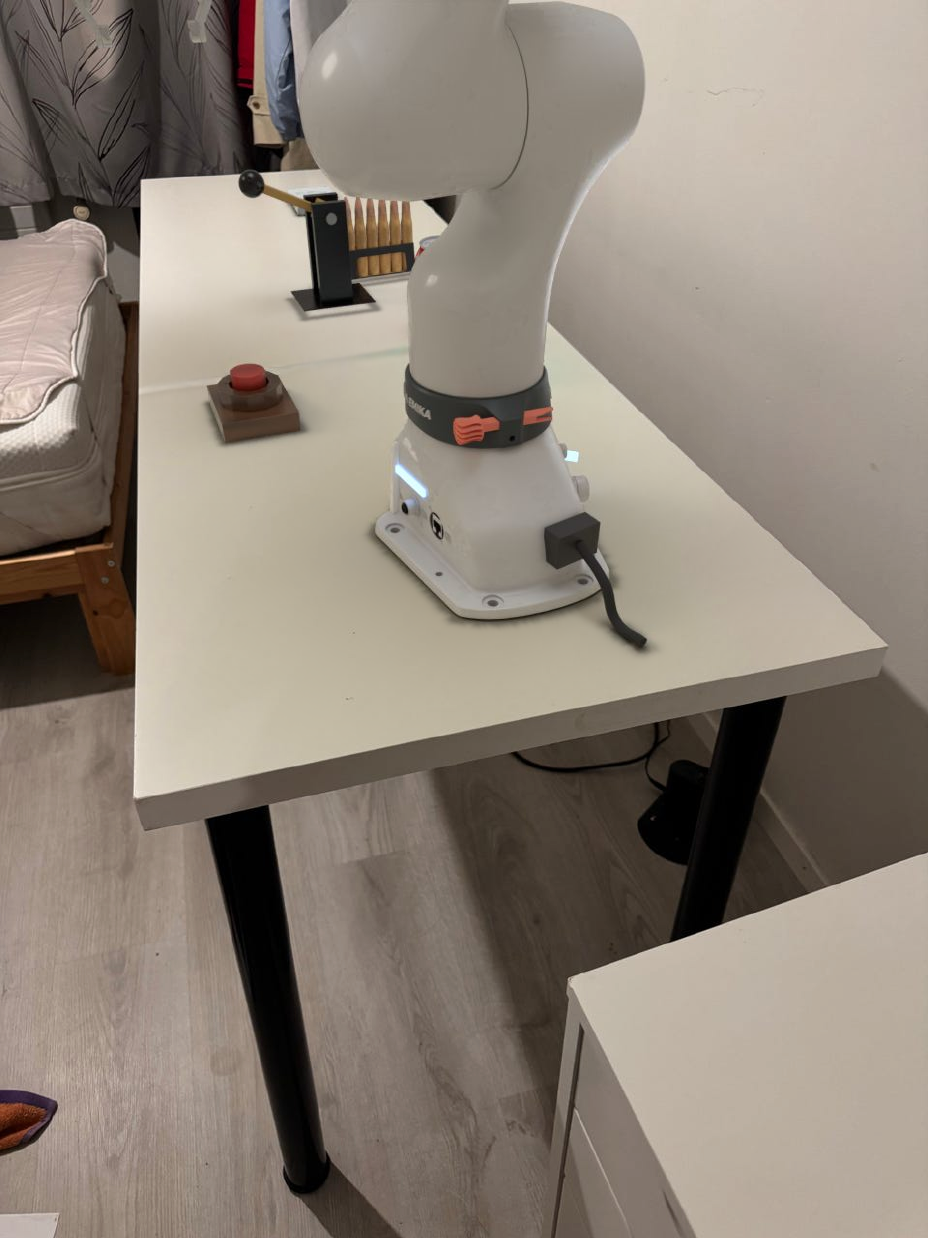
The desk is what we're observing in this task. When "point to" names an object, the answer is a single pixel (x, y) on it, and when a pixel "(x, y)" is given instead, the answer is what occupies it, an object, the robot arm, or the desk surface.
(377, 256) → the ammunition clip
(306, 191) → the hard drive
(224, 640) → the desk surface
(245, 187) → the lever
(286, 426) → the button block
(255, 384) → the button
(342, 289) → the bracket
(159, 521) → the desk surface
